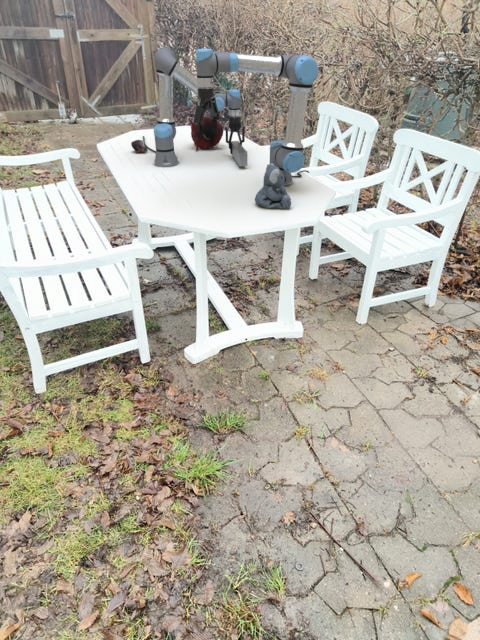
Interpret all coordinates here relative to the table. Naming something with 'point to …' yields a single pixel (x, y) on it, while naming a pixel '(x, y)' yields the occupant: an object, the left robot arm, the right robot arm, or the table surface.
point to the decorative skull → (206, 134)
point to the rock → (138, 146)
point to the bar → (239, 153)
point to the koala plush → (273, 190)
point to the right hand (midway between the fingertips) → (207, 136)
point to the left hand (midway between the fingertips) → (235, 153)
